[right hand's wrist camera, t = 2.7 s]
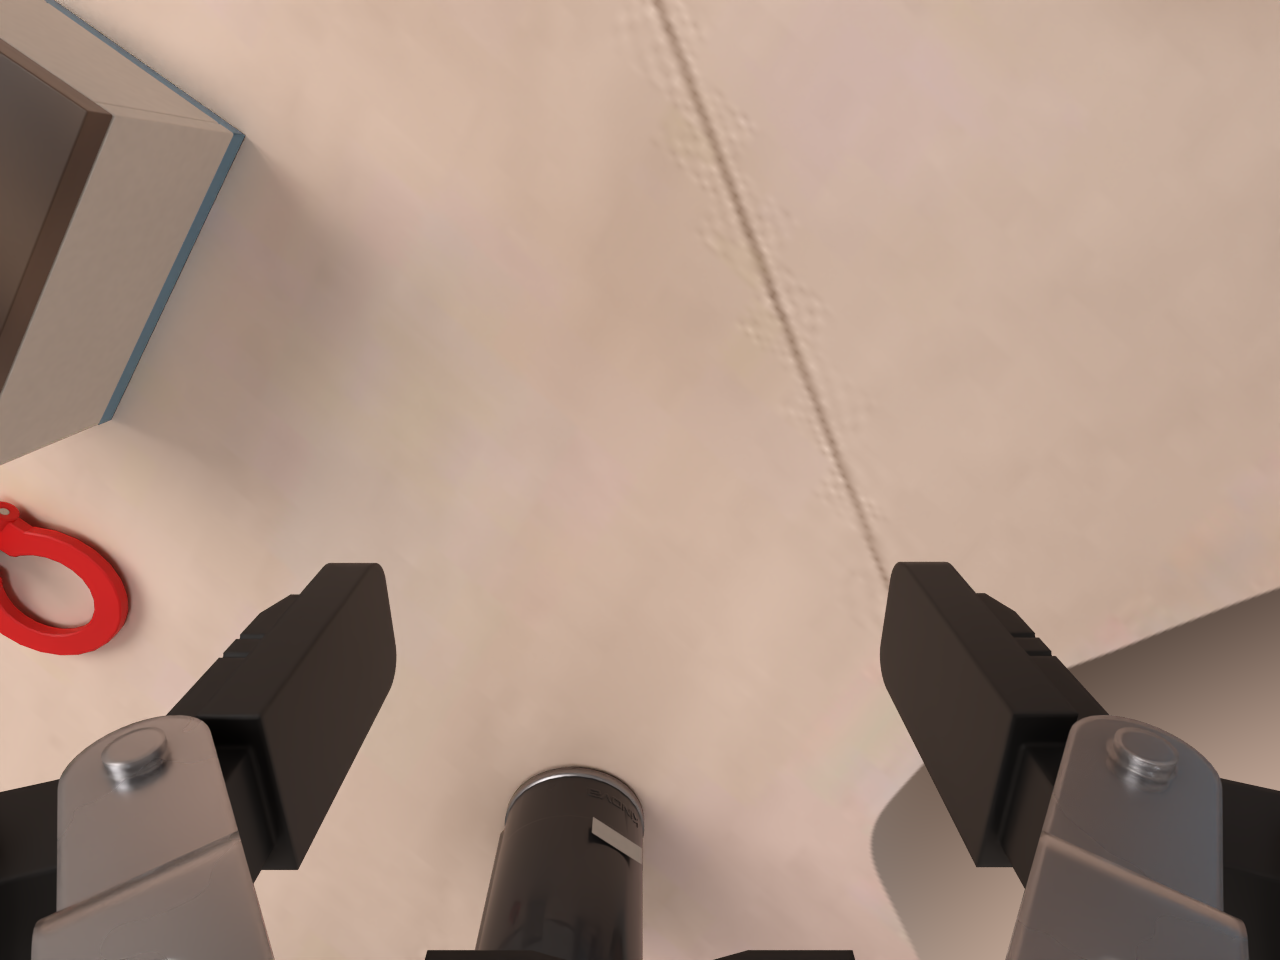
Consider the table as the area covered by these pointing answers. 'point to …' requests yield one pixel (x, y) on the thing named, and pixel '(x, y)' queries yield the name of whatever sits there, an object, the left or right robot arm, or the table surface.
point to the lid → (37, 182)
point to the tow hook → (106, 587)
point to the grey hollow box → (108, 229)
